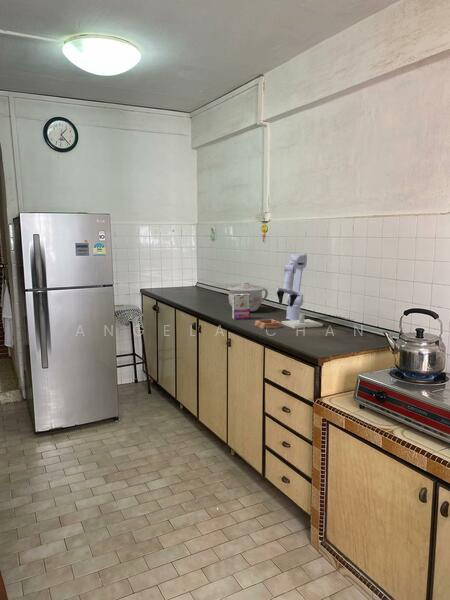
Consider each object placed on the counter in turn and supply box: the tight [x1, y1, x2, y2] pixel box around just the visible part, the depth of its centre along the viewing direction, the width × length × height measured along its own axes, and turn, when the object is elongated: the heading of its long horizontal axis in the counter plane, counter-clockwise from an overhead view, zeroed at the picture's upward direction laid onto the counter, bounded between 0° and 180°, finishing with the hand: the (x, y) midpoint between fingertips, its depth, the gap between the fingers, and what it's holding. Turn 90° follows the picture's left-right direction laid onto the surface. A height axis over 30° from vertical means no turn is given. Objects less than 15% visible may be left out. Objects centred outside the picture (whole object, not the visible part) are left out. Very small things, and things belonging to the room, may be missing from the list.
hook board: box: [280, 313, 324, 329], centre depth 283 cm, size 16×20×6 cm
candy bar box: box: [231, 294, 251, 321], centre depth 301 cm, size 11×5×16 cm, turn 106°
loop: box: [254, 318, 283, 330], centre depth 278 cm, size 12×12×3 cm
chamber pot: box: [226, 282, 269, 313], centre depth 332 cm, size 28×28×21 cm
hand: (285, 305), depth 276 cm, fingers open, 7 cm apart
